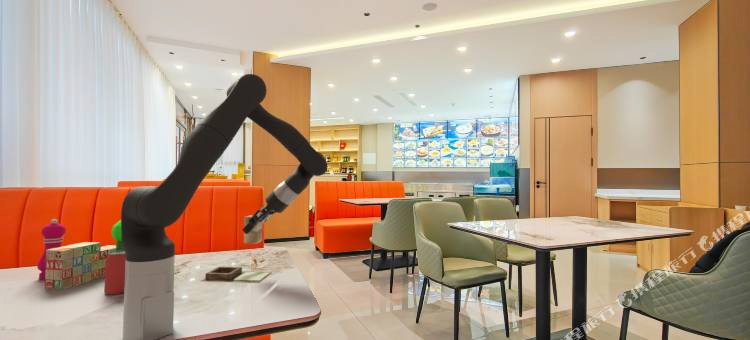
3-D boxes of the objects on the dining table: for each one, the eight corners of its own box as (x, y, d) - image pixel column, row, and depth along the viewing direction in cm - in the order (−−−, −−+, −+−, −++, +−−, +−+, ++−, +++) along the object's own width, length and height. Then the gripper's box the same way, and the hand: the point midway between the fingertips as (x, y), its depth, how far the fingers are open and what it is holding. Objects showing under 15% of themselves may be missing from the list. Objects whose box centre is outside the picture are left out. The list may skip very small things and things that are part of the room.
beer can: (99, 293, 97) (101, 253, 97) (125, 286, 103) (126, 248, 103) (110, 297, 94) (112, 255, 94) (136, 290, 100) (137, 251, 100)
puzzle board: (272, 274, 117) (272, 266, 117) (259, 285, 105) (259, 276, 105) (219, 273, 118) (219, 265, 118) (200, 284, 106) (200, 274, 106)
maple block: (262, 240, 114) (262, 215, 114) (256, 243, 110) (257, 217, 110) (249, 240, 114) (250, 215, 115) (243, 243, 110) (244, 216, 110)
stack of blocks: (108, 269, 121) (109, 236, 122) (123, 270, 121) (124, 237, 121) (43, 288, 100) (45, 249, 100) (61, 290, 99) (63, 250, 100)
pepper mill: (43, 275, 113) (45, 218, 114) (70, 272, 116) (72, 217, 117) (32, 281, 107) (34, 220, 107) (60, 278, 110) (63, 219, 110)
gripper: (281, 188, 119) (249, 220, 119) (267, 189, 105) (230, 226, 105) (295, 202, 119) (263, 234, 119) (283, 206, 105) (246, 242, 105)
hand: (247, 230), depth 112 cm, fingers closed on maple block, 4 cm apart
